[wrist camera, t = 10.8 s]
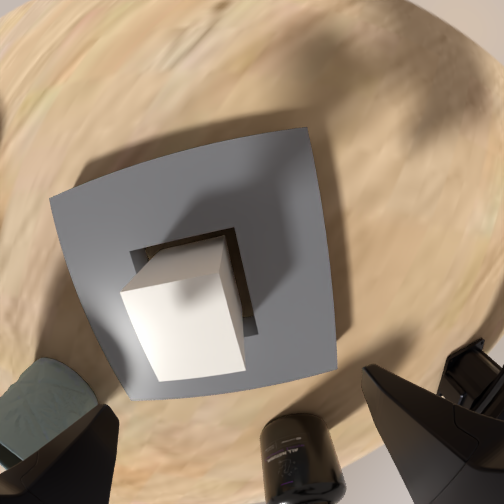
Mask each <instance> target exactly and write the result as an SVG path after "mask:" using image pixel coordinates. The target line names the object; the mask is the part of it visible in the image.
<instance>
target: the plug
mask: <svg viewBox="0 0 504 504" xmlns="http://www.w3.org/2000/svg"><path fill="white" fill-rule="evenodd" d="M120 294H121V297H122V300H123V302H124V305H125V307H126V310H127V312H128V315H129V317H130V320H131V322H132V325H133V327H134V329H135V332H136V334H137V336H138V339H139V341H140V343H141V345H142V347H143V350H144V352H145V354H146V356H147V358H148V360H149V362H150V364H151V366H152V368H153V370H154V372H155V374H156V376H157V378H158V380H159V382H161V381H173V380H183V379H192V378H200V377H208V376H215V375H222V374H228V373H234V372H240V371H246V365H245V350H244V334H243V318H242V304H241V300H240V296H239V292H238V288H237V284H236V280H235V276H234V272H233V267H232V263H231V259H230V255H229V250H228V246H227V242H226V238H225V235H224V236H219V237H215V238H210V239H206V240H201V241H197V242H192V243H188V244H184V245H179V246H175V247H170V248H166V249H162V250H159V251H158V252H157V253H156V254H155V256H154V257H153V258H152V259H151V260H150V261H149V262H148V263H147V264H146V265H145V266H144V267H143V268H142V269H141V270H140V271H139V272H138V273H137V274H136V275H135V276H134V277H133V279H132V280H131V281H130V282H129V283H128V284H127V285H126V286H125V287H124V288H123V289H122V290H121V291H120Z"/></svg>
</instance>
